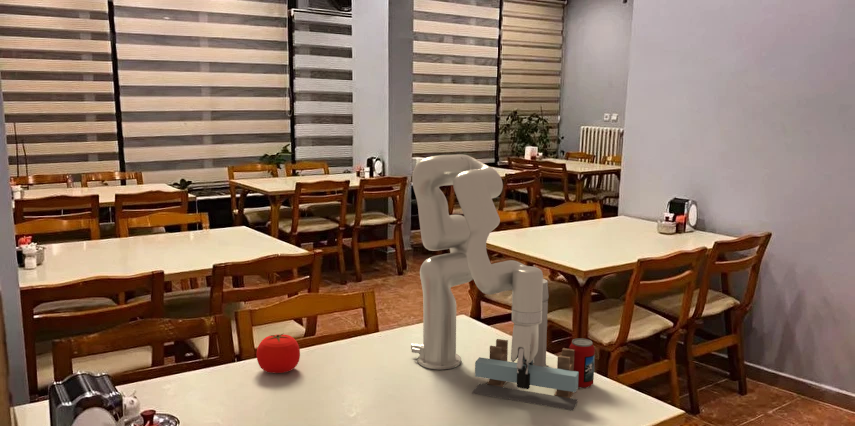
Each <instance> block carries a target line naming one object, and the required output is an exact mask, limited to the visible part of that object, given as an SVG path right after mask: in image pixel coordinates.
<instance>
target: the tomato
mask: <svg viewBox="0 0 855 426" xmlns="http://www.w3.org/2000/svg"><path fill="white" fill-rule="evenodd" d="M255 355H256V361H257V363H258V365H259V368H260V369H261V370H263V371H264V372H266V373H269V374H282V373H288V372H291V371H292V370H293V369H295V368H296V367H297V365H299V362H300V360H301V350H300V345H299V344H298V341H297V340H296V339H295V338H294V337H293V336H292V335H289V334H285V333H284V332H283V333H279V334H270V335H268V336H266V337H265V338H263V339H262V340H261V341H260V342H259V344H258V346H257V349H256V354H255Z"/></svg>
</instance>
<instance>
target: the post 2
mask: <svg viewBox="0 0 855 426" xmlns="http://www.w3.org/2000/svg"><path fill="white" fill-rule="evenodd" d="M556 366H557V367H556V369H563V370H570V371H574V350H573V349H569V348H565V347H563V348H562V349H561V355H558V356H557V364H556ZM555 390H556V391H555V392H554V394H553V395H554V396H560V397H566V398H572V396H573V395H574V392H571V391H564V390H558V389H555Z"/></svg>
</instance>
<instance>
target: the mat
mask: <svg viewBox="0 0 855 426" xmlns="http://www.w3.org/2000/svg"><path fill="white" fill-rule="evenodd" d="M472 394H474V395H480V396H487V397H493V398H498V399H504V400H509V401H516V402H521V403H527V404H533V405H537V406H538V405H539V406H545V407H549V408H556V409H562V410H567V411H572V412H573V411H574V410H575V408H576V406H577V404H578V399H576V398H572V397H571V398H566V397H560V396H554V394H548V393H541V392H535V391H528V390H525V389H519V388H512V387H511V388H510V387H504V386H503V387H500V386H494V385H488V384H487V383H482V382H480V383H478V384H477V386H476V387H475V388H474V389H473V390H472Z"/></svg>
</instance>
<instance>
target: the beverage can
mask: <svg viewBox="0 0 855 426" xmlns="http://www.w3.org/2000/svg"><path fill="white" fill-rule="evenodd" d="M568 349H573V350H574V371H577V372H579V375H578V388H577V389H587V388H590V387H591V386H593V385H594V381H595V380H594V379H595V378H594V377H595V357H596V354H595V353H596V348H595V346H594V344H593V341H592V340H590V339H588V338H581V337H580V338H574V339H572V340H571V342H570V345H569V346H568Z"/></svg>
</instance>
